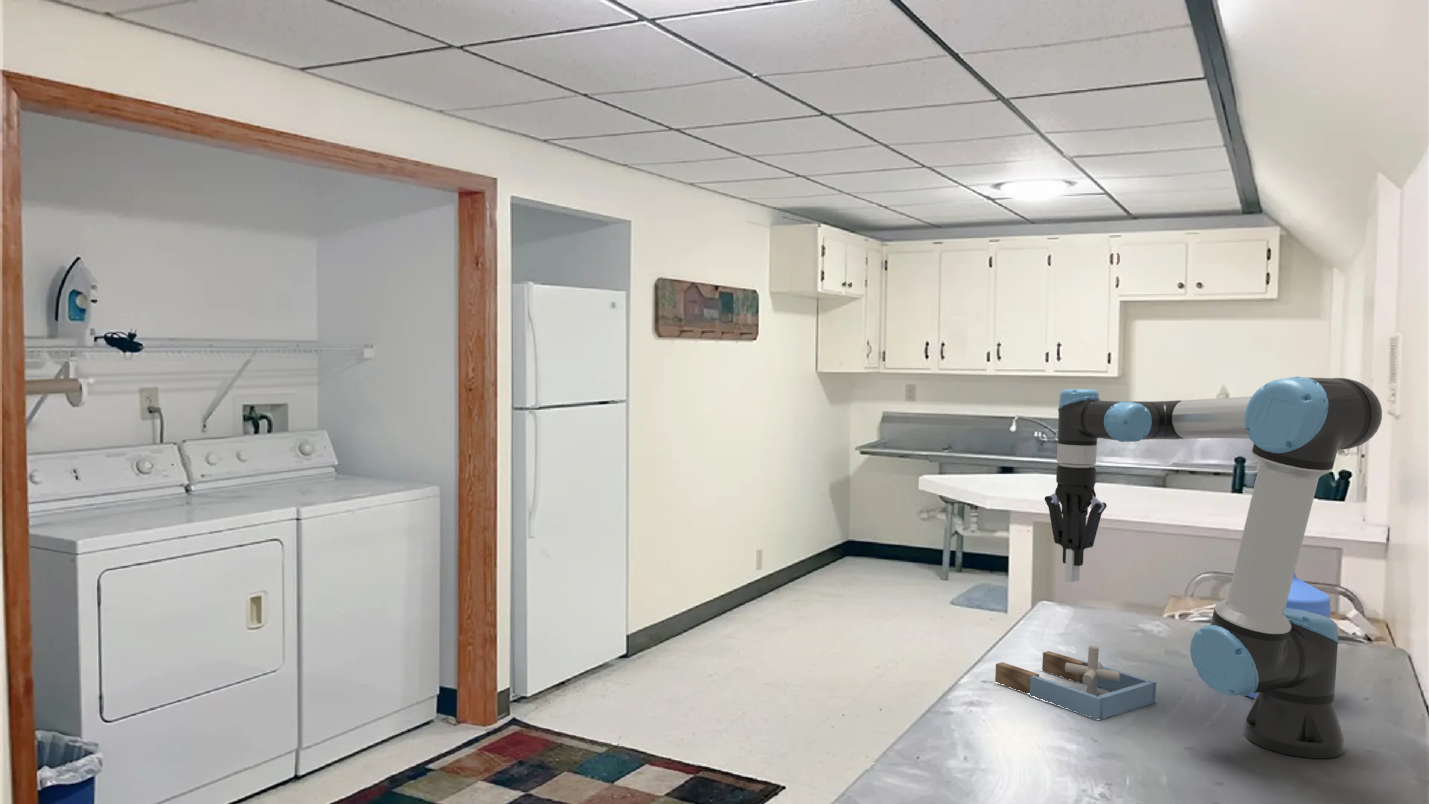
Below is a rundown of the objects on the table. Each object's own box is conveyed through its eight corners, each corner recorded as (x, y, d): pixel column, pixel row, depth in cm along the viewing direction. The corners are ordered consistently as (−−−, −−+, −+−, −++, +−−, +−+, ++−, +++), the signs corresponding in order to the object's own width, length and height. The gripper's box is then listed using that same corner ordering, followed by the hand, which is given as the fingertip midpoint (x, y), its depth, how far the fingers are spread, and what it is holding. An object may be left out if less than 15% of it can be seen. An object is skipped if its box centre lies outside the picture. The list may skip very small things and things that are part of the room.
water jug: (1338, 712, 197) (1346, 566, 196) (1249, 704, 201) (1256, 561, 199) (1308, 686, 213) (1316, 550, 211) (1226, 679, 216) (1232, 546, 214)
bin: (1155, 702, 200) (1156, 682, 200) (1098, 720, 190) (1099, 699, 190) (1087, 680, 213) (1088, 661, 213) (1029, 696, 202) (1030, 676, 202)
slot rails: (1085, 681, 212) (1085, 662, 212) (1031, 696, 203) (1032, 675, 202) (1048, 669, 220) (1048, 651, 220) (995, 683, 210) (995, 663, 210)
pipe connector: (1113, 710, 196) (1116, 658, 195) (1059, 699, 201) (1061, 649, 200) (1122, 695, 204) (1125, 645, 204) (1070, 685, 209) (1072, 636, 209)
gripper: (1116, 467, 207) (1111, 584, 208) (1059, 461, 217) (1055, 572, 219) (1094, 469, 203) (1090, 589, 204) (1037, 462, 213) (1033, 577, 214)
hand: (1072, 580), depth 211 cm, fingers closed
